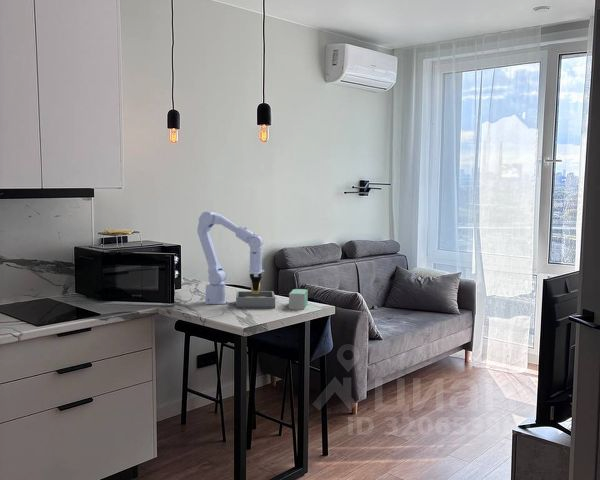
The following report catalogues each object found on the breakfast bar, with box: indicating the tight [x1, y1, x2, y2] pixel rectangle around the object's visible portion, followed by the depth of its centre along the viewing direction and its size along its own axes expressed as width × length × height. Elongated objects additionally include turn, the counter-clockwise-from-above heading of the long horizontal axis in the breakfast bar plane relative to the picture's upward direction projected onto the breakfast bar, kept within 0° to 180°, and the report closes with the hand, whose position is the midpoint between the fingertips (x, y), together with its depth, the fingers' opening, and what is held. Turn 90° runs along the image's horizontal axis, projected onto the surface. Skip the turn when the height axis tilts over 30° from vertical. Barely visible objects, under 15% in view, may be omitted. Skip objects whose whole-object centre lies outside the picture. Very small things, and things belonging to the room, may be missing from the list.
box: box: [288, 288, 309, 311], centre depth 286 cm, size 7×14×8 cm, turn 172°
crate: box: [235, 290, 276, 309], centre depth 288 cm, size 18×16×5 cm
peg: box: [250, 281, 261, 294], centre depth 287 cm, size 4×4×6 cm
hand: (255, 289), depth 287 cm, fingers closed on peg, 4 cm apart
